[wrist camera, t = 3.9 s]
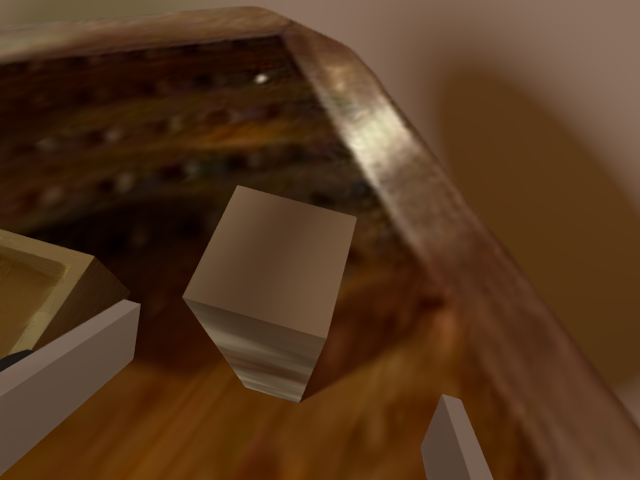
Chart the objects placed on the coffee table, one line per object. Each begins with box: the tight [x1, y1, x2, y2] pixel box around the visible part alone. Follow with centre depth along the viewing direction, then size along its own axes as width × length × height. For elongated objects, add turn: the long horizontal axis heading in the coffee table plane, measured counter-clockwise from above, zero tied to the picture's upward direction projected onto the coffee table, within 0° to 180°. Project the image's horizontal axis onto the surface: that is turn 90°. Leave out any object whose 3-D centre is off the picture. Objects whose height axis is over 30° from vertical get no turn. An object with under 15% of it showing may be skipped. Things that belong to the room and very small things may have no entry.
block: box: [182, 186, 357, 403], centre depth 18 cm, size 4×4×18 cm
